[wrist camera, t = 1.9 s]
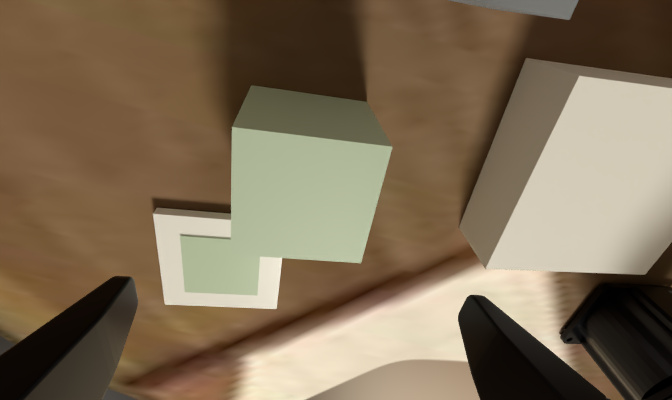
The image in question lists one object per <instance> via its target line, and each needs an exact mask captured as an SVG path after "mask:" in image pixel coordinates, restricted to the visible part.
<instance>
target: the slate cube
mask: <svg viewBox="0 0 672 400" xmlns="http://www.w3.org/2000/svg"><path fill="white" fill-rule="evenodd" d="M450 1H455V2H460V3H465V4H470V5H475V6H480V7H485V8H490V9H495V10H502V11H509V12H516V13H523V14H530V15H537V16H544V17H552V18H559V19H566V20H570V18H571V16H572V14H573V11H574V9H575V7H576V5H577V3H578V1H579V0H450Z"/></svg>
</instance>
